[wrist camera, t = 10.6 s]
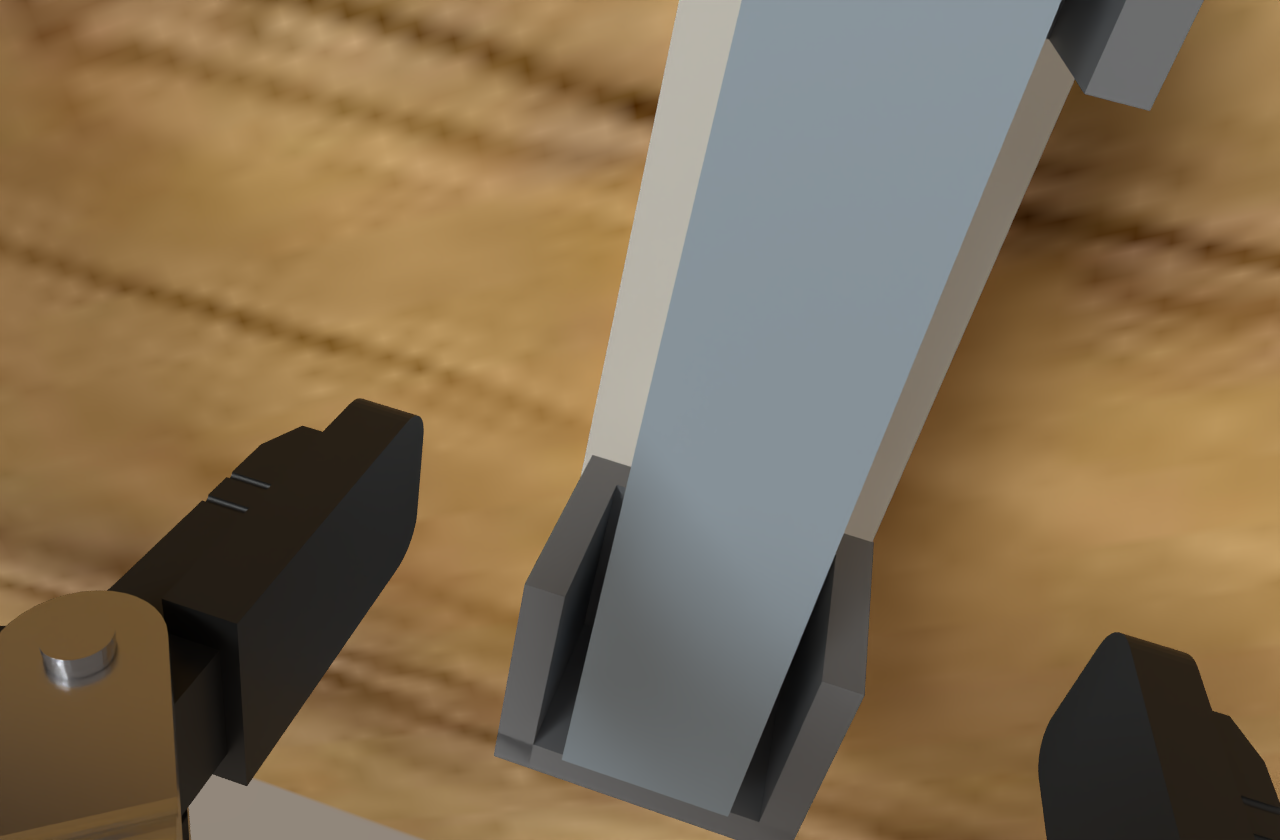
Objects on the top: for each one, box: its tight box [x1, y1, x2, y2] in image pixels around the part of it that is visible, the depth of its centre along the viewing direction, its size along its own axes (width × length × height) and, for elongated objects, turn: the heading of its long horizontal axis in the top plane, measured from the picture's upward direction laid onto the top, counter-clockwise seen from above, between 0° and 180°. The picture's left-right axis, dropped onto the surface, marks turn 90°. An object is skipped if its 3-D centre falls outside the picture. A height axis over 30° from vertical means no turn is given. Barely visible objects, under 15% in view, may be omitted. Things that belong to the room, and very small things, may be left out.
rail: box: [562, 0, 1061, 817], centre depth 16 cm, size 18×4×4 cm, turn 169°
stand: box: [494, 0, 1204, 840], centre depth 20 cm, size 22×9×12 cm, turn 168°
